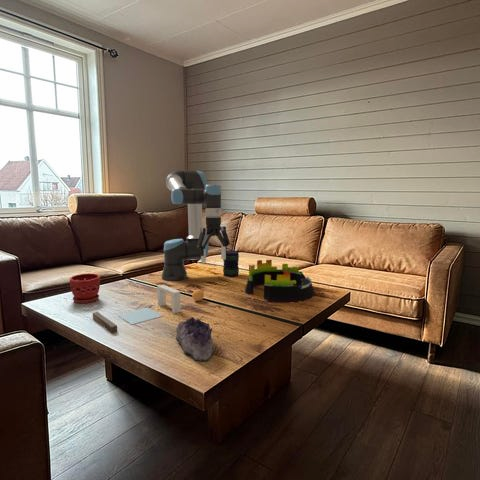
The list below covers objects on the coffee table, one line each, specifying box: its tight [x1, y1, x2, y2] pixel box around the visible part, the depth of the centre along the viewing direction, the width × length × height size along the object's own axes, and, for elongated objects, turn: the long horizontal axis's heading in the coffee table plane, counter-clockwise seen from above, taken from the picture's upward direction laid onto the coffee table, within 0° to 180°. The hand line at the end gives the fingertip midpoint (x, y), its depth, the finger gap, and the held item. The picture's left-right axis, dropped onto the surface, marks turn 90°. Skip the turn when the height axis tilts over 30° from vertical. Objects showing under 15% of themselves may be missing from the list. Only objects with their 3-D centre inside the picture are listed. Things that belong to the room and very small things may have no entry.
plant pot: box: [69, 273, 101, 304], centre depth 164 cm, size 13×13×12 cm
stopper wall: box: [92, 311, 118, 334], centre depth 135 cm, size 2×20×2 cm, turn 42°
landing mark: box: [117, 307, 163, 326], centre depth 145 cm, size 14×14×1 cm
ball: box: [191, 289, 205, 302], centre depth 165 cm, size 6×6×6 cm
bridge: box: [157, 284, 182, 314], centre depth 154 cm, size 3×14×9 cm, turn 42°
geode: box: [175, 316, 215, 363], centre depth 115 cm, size 20×12×10 cm, turn 25°
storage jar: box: [222, 250, 240, 278], centre depth 214 cm, size 10×10×15 cm
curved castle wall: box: [244, 259, 316, 304], centre depth 179 cm, size 37×37×15 cm
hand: (213, 260), depth 169 cm, fingers open, 12 cm apart
